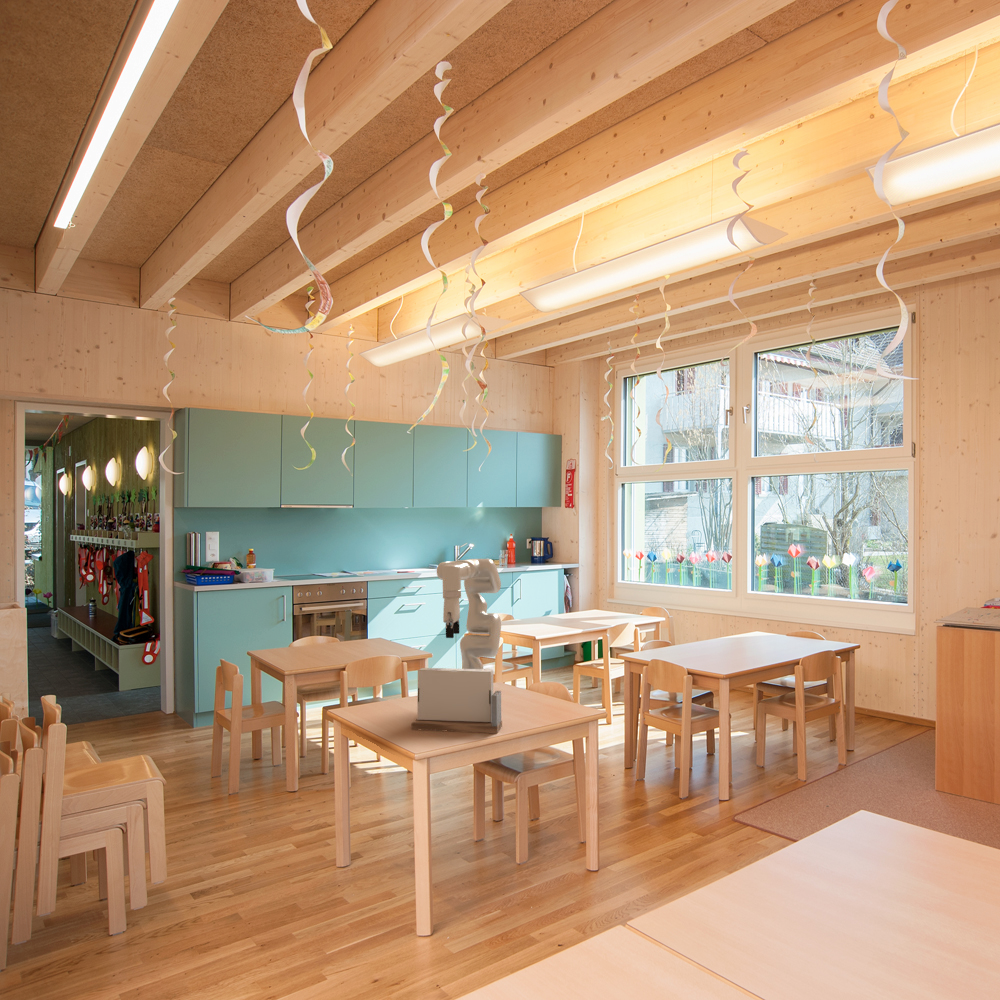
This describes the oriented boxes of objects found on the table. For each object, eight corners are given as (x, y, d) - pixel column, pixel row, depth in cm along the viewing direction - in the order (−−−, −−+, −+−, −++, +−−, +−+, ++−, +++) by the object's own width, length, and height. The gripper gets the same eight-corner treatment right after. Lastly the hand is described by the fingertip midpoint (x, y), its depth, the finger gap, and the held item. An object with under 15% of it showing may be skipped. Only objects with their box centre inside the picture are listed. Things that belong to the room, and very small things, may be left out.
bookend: (496, 720, 311) (496, 690, 311) (501, 720, 310) (501, 690, 311) (491, 726, 302) (491, 695, 302) (496, 726, 302) (496, 695, 302)
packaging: (493, 719, 313) (493, 669, 315) (490, 722, 307) (490, 671, 309) (421, 716, 318) (421, 667, 319) (417, 719, 312) (417, 670, 313)
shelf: (419, 723, 318) (419, 716, 318) (502, 726, 311) (502, 720, 311) (411, 729, 308) (411, 723, 308) (497, 733, 301) (497, 726, 301)
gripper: (448, 591, 327) (449, 631, 328) (437, 597, 310) (438, 639, 311) (465, 591, 326) (466, 632, 326) (455, 597, 309) (456, 639, 309)
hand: (452, 635), depth 318 cm, fingers open, 9 cm apart
